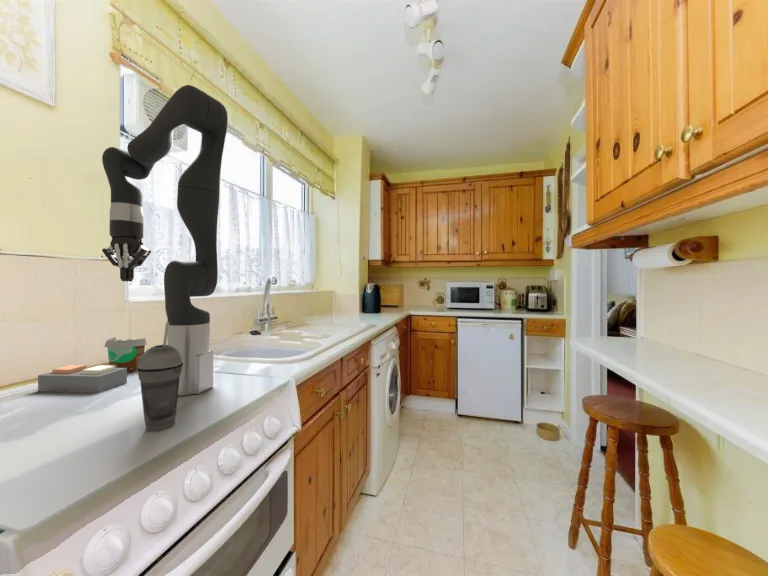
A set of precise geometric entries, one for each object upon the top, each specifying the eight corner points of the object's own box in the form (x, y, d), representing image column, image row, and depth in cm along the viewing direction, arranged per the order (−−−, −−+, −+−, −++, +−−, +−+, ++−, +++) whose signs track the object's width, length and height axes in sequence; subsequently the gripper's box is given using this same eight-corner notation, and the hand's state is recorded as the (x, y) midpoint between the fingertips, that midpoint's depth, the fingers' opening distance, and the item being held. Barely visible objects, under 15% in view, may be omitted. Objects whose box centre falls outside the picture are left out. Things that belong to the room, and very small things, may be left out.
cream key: (115, 378, 84) (115, 365, 84) (99, 383, 79) (99, 370, 79) (99, 378, 84) (99, 365, 84) (82, 383, 80) (82, 370, 80)
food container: (93, 372, 95) (93, 340, 94) (113, 367, 101) (114, 336, 101) (127, 375, 92) (127, 341, 92) (146, 369, 99) (146, 338, 98)
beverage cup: (153, 418, 63) (153, 320, 63) (190, 417, 64) (191, 320, 63) (126, 435, 56) (126, 324, 56) (169, 434, 56) (169, 324, 56)
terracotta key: (86, 378, 84) (86, 365, 84) (69, 383, 80) (69, 369, 80) (70, 377, 84) (70, 364, 84) (52, 382, 80) (52, 369, 80)
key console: (126, 382, 86) (126, 368, 86) (99, 392, 78) (99, 376, 78) (71, 381, 86) (71, 366, 86) (38, 391, 78) (38, 375, 78)
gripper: (159, 223, 93) (159, 281, 93) (115, 223, 93) (115, 281, 93) (138, 218, 85) (138, 281, 86) (91, 218, 86) (91, 281, 86)
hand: (126, 281), depth 89 cm, fingers closed
